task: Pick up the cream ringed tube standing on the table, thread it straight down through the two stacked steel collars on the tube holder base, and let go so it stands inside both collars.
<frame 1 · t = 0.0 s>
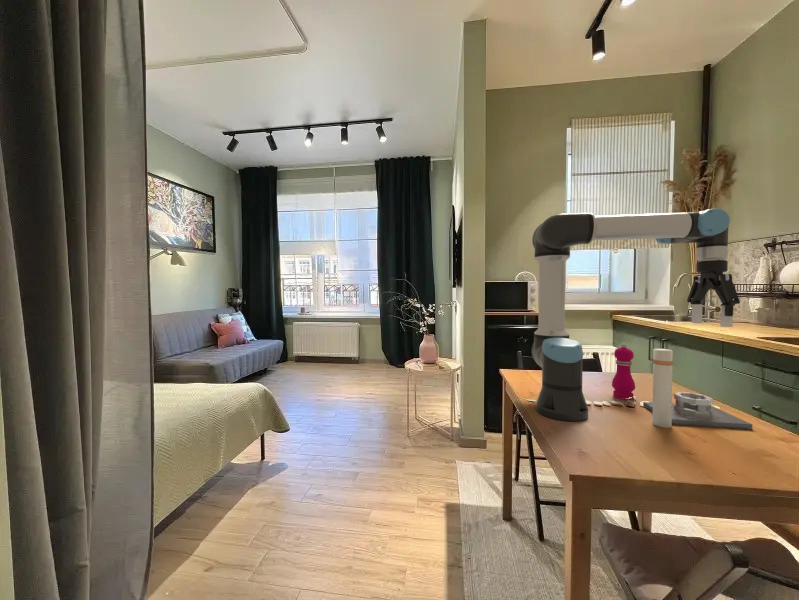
hand: (710, 324, 111), 28 cm above the table, tool pointing down, fingers open, 13 cm apart
tube holder base: (692, 416, 104), on the table
pepper mill: (623, 397, 124), on the table
cream ringed tube: (661, 424, 98), on the table
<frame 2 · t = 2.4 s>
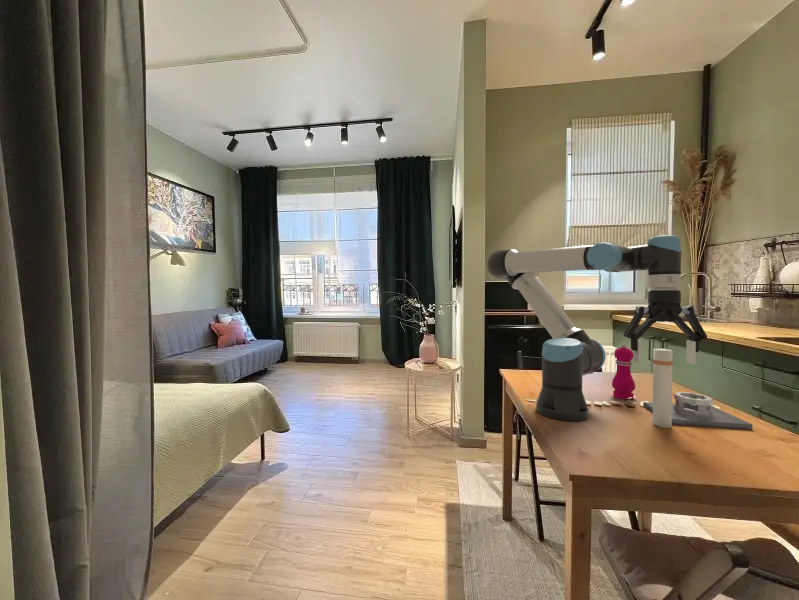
hand: (663, 362, 97), 18 cm above the table, tool pointing down, fingers open, 13 cm apart
nothing on the table moved.
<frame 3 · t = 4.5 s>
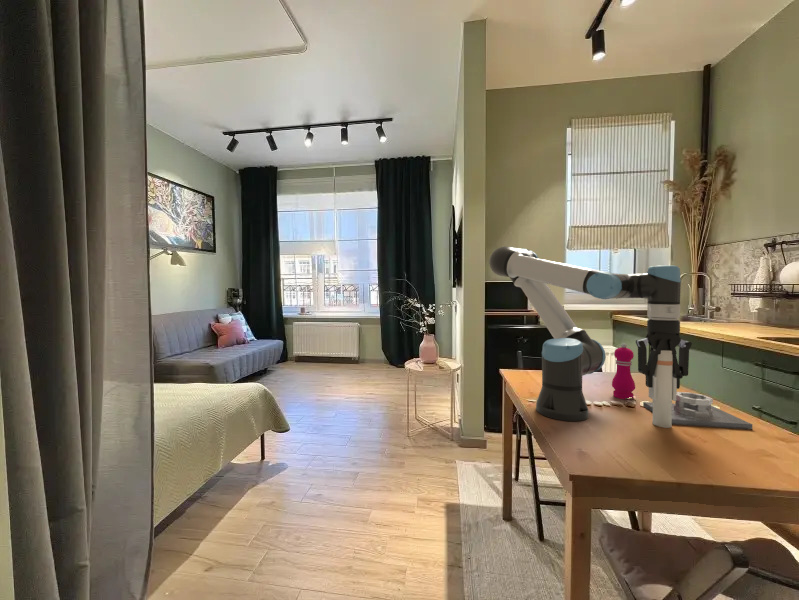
hand: (662, 398, 98), 8 cm above the table, tool pointing down, fingers closed on cream ringed tube, 4 cm apart
cream ringed tube: (661, 424, 98), on the table, touching gripper
everything else where it was.
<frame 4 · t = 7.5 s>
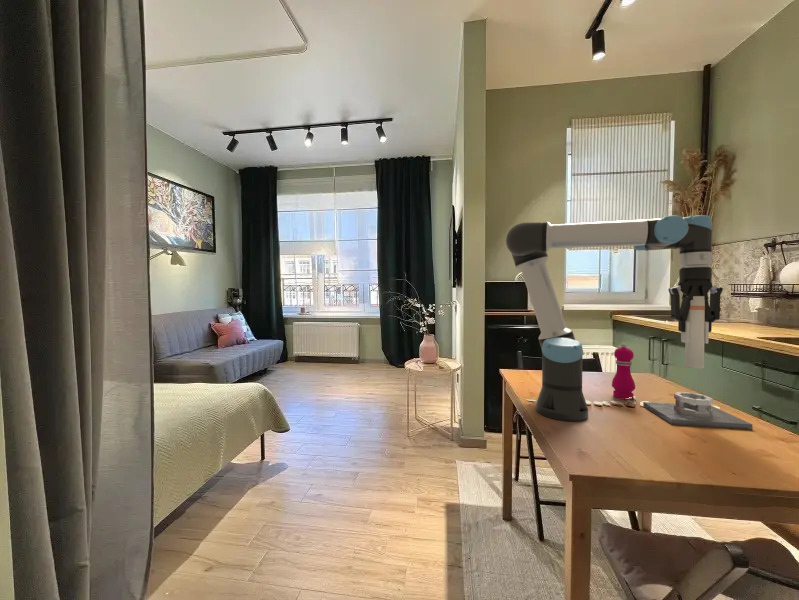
hand: (694, 342, 104), 23 cm above the table, tool pointing down, fingers closed on cream ringed tube, 4 cm apart
cream ringed tube: (694, 367, 104), point 16 cm above the table, touching gripper
everything else where it was.
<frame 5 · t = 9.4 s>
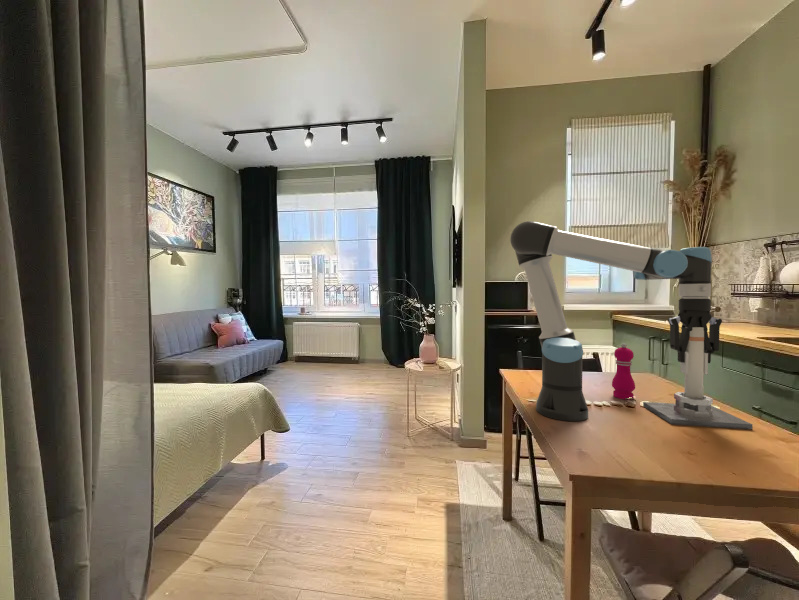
hand: (693, 373, 104), 14 cm above the table, tool pointing down, fingers closed on cream ringed tube, 4 cm apart
cream ringed tube: (693, 397, 104), point 6 cm above the table, touching gripper
everything else where it was.
when the fingers open (10 cm above the table, at t = 10.8 s): cream ringed tube stays where it is, resting on tube holder base.
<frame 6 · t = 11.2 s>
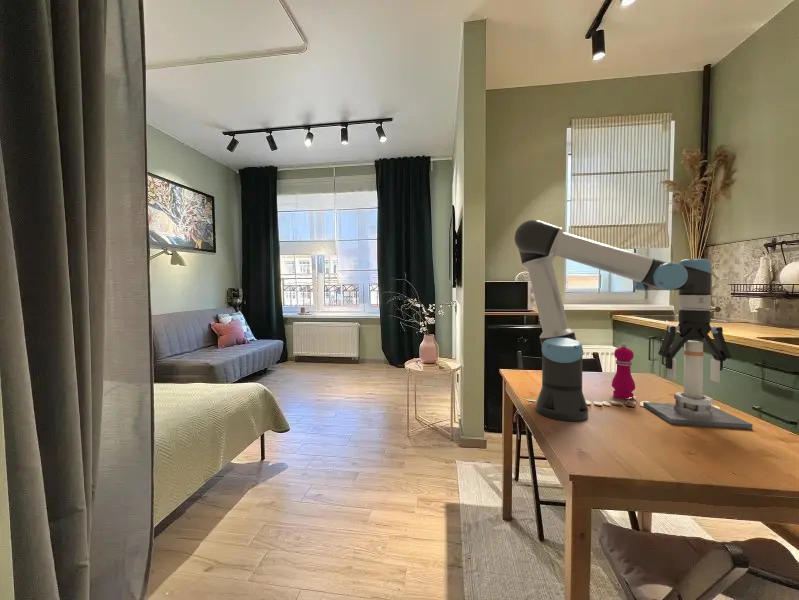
hand: (693, 380, 104), 11 cm above the table, tool pointing down, fingers open, 11 cm apart
cream ringed tube: (692, 412, 104), point 2 cm above the table, touching tube holder base
everything else where it was.
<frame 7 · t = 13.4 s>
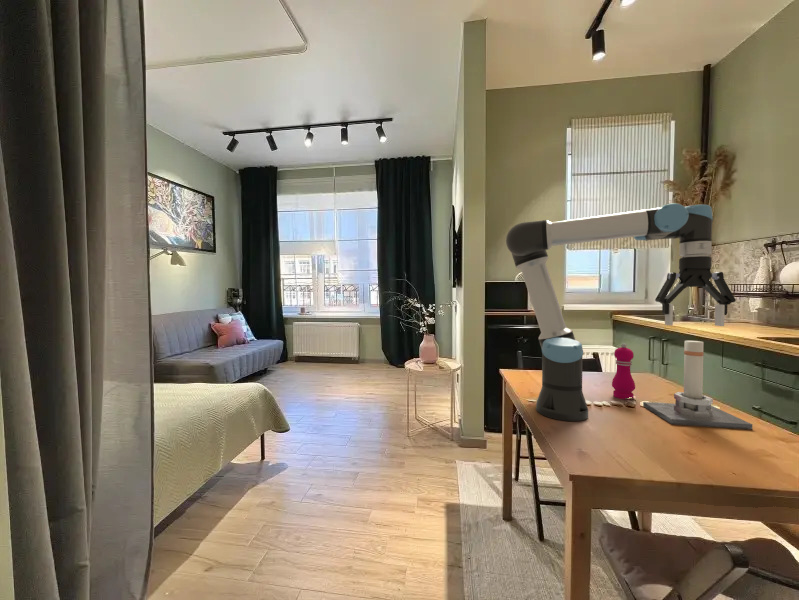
hand: (693, 325, 104), 28 cm above the table, tool pointing down, fingers open, 13 cm apart
nothing on the table moved.
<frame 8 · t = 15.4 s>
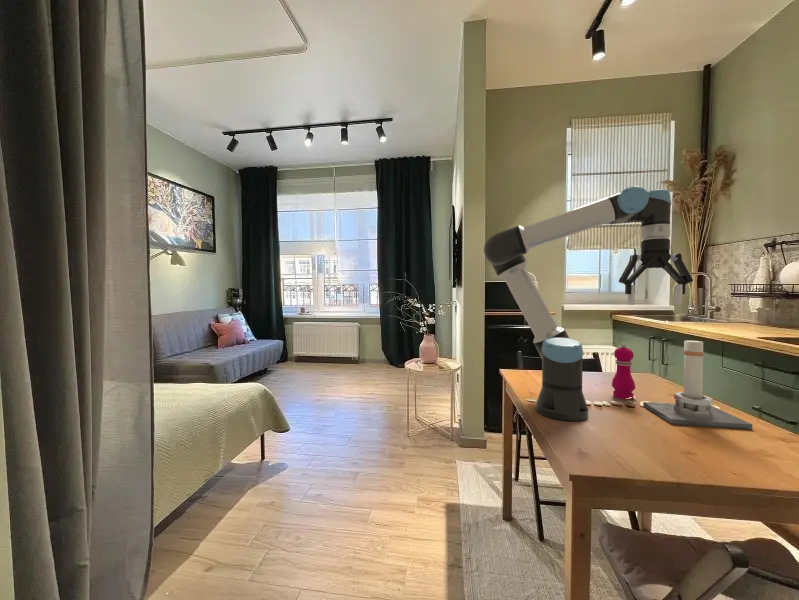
hand: (654, 304, 109), 35 cm above the table, tool pointing down, fingers open, 13 cm apart
nothing on the table moved.
at the end: cream ringed tube 0.1 cm off-centre on the tube holder base, point 1.5 cm above the tube holder base's base; cream ringed tube tilted 0°; the gripper is holding nothing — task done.
